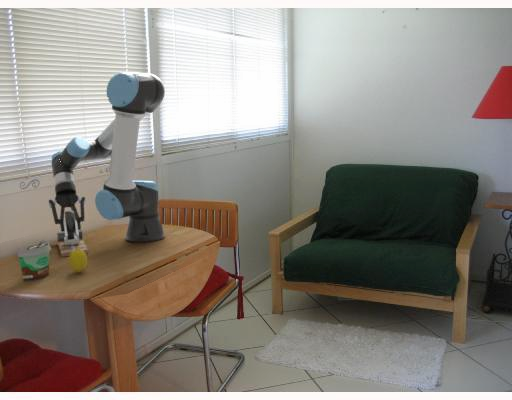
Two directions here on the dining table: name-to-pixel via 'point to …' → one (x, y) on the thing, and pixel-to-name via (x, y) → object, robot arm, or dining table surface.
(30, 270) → the food container
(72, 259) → the lemon
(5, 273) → the dining table surface
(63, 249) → the press bench
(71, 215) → the press handle
